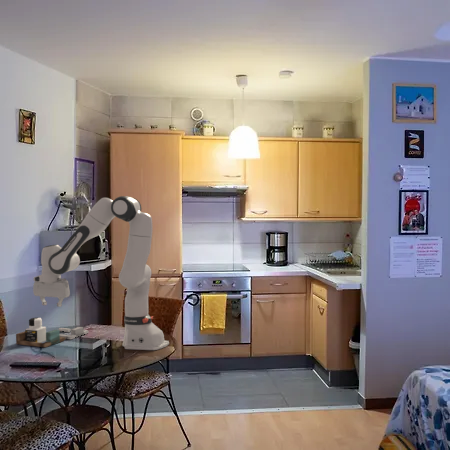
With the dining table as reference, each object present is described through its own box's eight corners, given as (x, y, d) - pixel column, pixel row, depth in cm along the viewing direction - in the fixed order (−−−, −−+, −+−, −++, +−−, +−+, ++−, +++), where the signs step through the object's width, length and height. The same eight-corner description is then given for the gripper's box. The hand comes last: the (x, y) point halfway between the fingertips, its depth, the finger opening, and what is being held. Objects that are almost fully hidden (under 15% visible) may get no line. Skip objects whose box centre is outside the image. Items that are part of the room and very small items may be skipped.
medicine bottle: (25, 343, 234) (24, 319, 234) (34, 339, 241) (34, 316, 241) (37, 344, 232) (36, 320, 232) (46, 340, 239) (46, 317, 239)
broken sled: (88, 333, 252) (88, 325, 252) (70, 339, 239) (70, 331, 239) (60, 330, 259) (60, 323, 259) (42, 336, 247) (41, 328, 247)
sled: (65, 340, 238) (64, 328, 238) (45, 347, 225) (44, 334, 225) (37, 337, 245) (36, 325, 245) (16, 344, 233) (15, 331, 233)
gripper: (72, 277, 231) (73, 306, 231) (40, 276, 239) (41, 303, 239) (63, 279, 225) (63, 308, 225) (30, 277, 233) (31, 305, 233)
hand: (51, 305), depth 232 cm, fingers open, 8 cm apart
